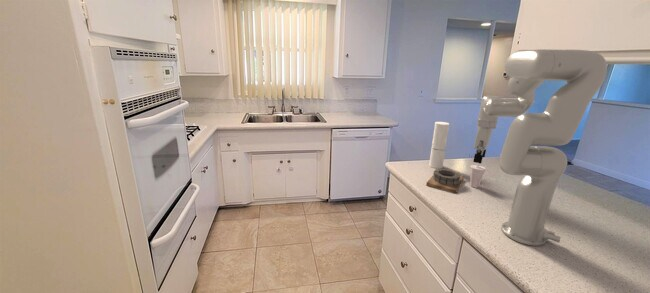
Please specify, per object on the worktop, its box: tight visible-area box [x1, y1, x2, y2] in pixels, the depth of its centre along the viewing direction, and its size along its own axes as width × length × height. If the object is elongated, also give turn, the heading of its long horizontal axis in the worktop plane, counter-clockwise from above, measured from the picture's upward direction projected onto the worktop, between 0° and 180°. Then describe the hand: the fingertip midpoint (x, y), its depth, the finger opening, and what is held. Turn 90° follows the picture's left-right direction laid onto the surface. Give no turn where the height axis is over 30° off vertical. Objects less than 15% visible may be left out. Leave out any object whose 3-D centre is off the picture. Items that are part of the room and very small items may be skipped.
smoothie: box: [469, 163, 487, 189], centre depth 129 cm, size 6×6×14 cm
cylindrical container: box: [428, 121, 450, 170], centre depth 151 cm, size 7×7×25 cm
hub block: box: [426, 168, 465, 194], centre depth 133 cm, size 13×18×5 cm
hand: (479, 159), depth 127 cm, fingers open, 9 cm apart
